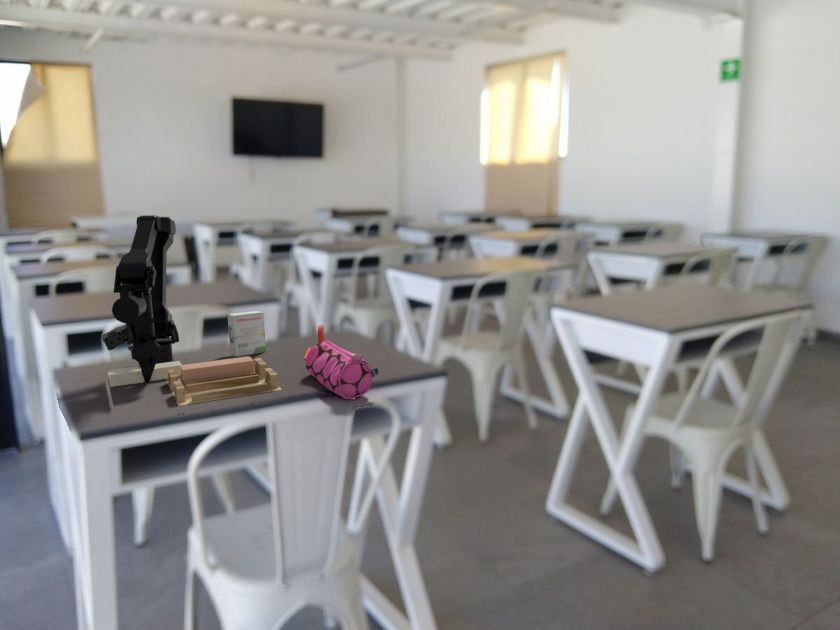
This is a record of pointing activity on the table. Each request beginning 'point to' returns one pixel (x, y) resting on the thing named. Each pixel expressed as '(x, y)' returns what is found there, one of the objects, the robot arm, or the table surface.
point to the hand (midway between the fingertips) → (146, 378)
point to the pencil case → (339, 370)
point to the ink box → (246, 333)
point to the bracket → (320, 338)
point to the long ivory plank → (136, 376)
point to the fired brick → (216, 369)
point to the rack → (224, 385)
